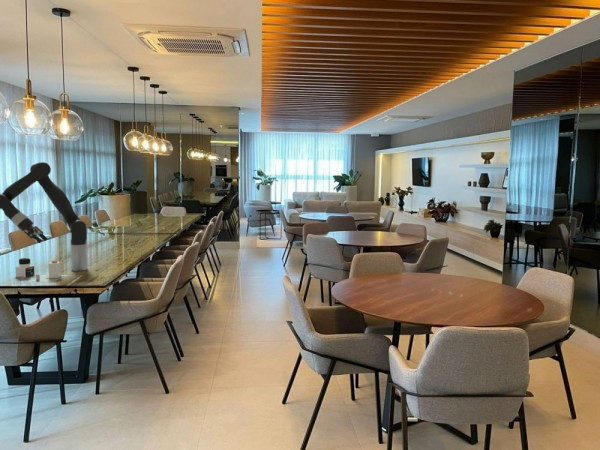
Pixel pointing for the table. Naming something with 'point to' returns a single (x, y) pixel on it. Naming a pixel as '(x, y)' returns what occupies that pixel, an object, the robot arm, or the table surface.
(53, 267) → the white bottle
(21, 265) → the medicine bottle
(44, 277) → the post board
